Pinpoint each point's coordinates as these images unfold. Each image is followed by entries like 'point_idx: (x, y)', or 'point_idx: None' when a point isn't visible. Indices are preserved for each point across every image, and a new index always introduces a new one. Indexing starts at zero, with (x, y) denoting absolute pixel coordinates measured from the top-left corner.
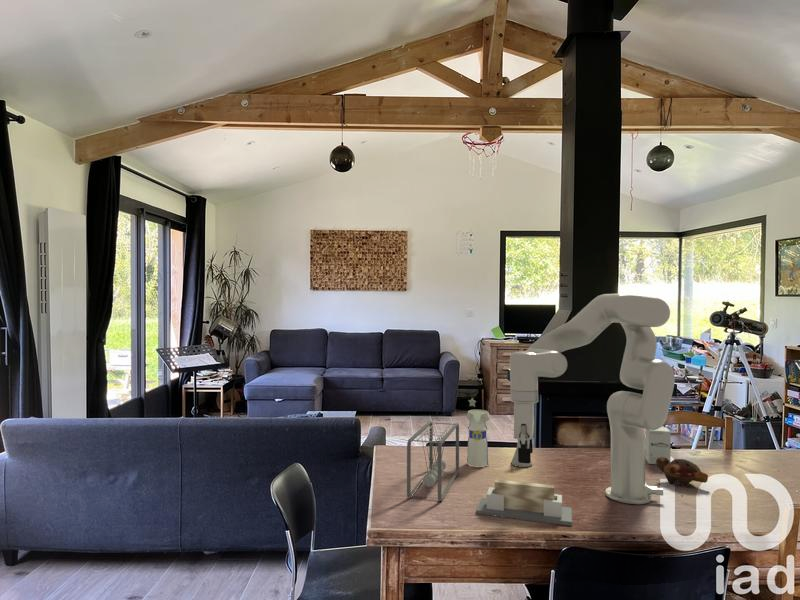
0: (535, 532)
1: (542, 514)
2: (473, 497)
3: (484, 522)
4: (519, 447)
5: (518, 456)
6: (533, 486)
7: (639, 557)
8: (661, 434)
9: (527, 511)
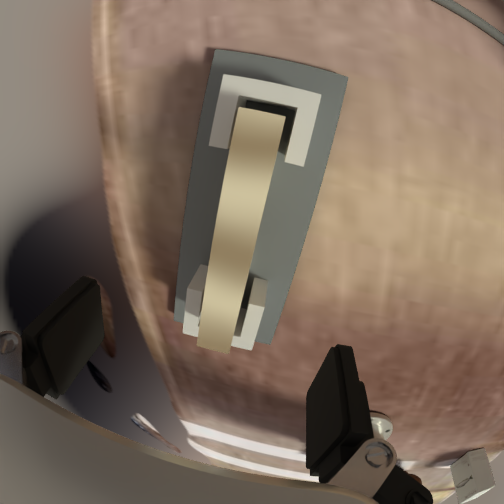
0: (117, 220)
1: (208, 262)
2: (379, 57)
3: (154, 80)
4: (2, 337)
5: (63, 295)
6: (206, 283)
7: (89, 362)
8: (465, 495)
9: None
